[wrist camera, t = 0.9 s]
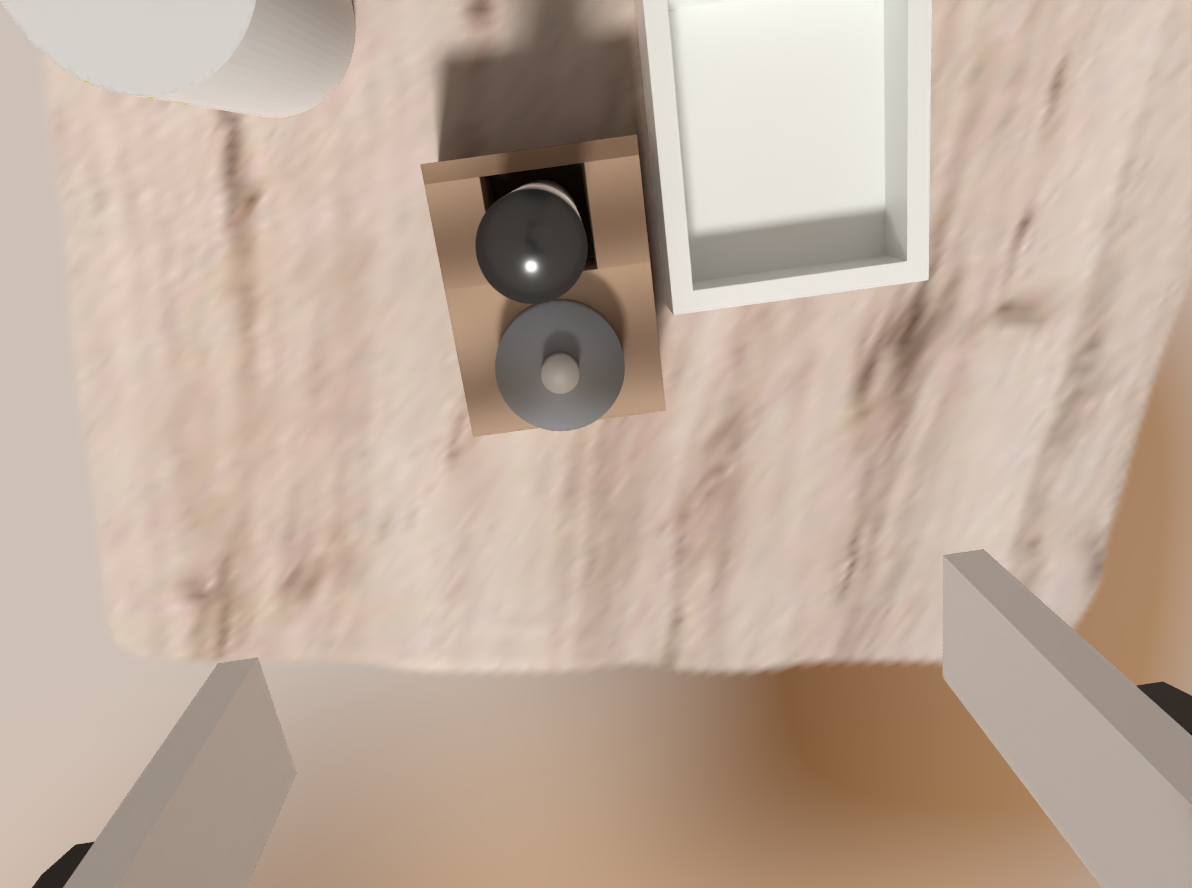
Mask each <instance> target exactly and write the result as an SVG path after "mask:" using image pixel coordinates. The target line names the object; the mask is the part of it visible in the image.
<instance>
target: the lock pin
mask: <svg viewBox="0 0 1192 888" xmlns="http://www.w3.org/2000/svg"><path fill="white" fill-rule="evenodd" d="M475 249H476V257H477V261H478V264H479V267H480V269H481V271H482V273H483V275H484V277H485V278H486V280H487V281H488V283H489V284H490V285H491V286H492V287H493V288H494V289H495V290H496V291H498V292H499V293H500V294H502V295H503V296H505V297H507V298H509V299H511V300H514V301H517V302H520V303H525V304H540V303H545V302H549V301H552V300H555V299H556V298H558V297H560V296H562V295H563V294H565V293H566V292H567V291H569V290H570V289H571V288H572V287H573V286H574V284H575V283H576V282H577V280H578V279H579V277H580V276H581V274H582V272H583V270H584V267H585V264H586V259H587V251H588V245H587V237H586V232H585V229H584V226H583V223H582V221H581V218H580V216H579V213H578V210H577V208H576V205H575V203H574V201H573V198H572V197H571V195H570V194H569V193H568V192H567V190H565V189H564V188H563V187H562V186H560V185H559V184H557V183H555V182H552V181H548V180H535V181H531V182H528V183H526V184H524V185H523V186H521V187H519V188H517V189H515V190H514V191H512V192H510V193H508V194H506V195H505V196H503V197H501V198H500V199H498V200H497V201H496V202H495V203H494V204H492V205H491V206H490V208H489V209H488V210H487V211H486V212H485V214H484V216H483V217H482V219H481V222H480V224H479V226H478V230H477V234H476V241H475Z"/></svg>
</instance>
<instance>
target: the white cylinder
mask: <svg viewBox="0 0 1192 888" xmlns="http://www.w3.org/2000/svg"><path fill="white" fill-rule="evenodd" d="M1 2H2V3H3V5H4V7H5V9H6V10H7V12H8V13H9V15H10V16H11V18H12V19H13V21H14V22H15V23H16V24H17V26H18V27H19V29H20V30H21V31H22V32H23V33H24V35H25V36H26V37H27V38H28V39H29V40H30V41H31V42H32V43H33V44H34V45H35V46H36V47H37V48H38V49H39V50H40V51H41V52H42V53H43V54H44V55H45V56H47V57H48V58H49V59H50V60H51V61H53V62H54V63H55V64H57V65H58V66H59V67H61V68H62V69H64V70H65V71H67V72H69V73H70V74H72V75H73V76H75V77H77V78H79V79H81V80H83V81H85V82H87V83H89V84H92V85H94V86H96V87H99V88H102V89H105V90H108V91H112V92H116V93H121V94H126V95H132V96H138V97H144V98H151V99H157V100H163V101H169V102H175V103H181V104H188V105H194V106H200V107H206V108H212V109H218V110H225V111H231V112H237V113H243V114H249V115H255V116H262V117H287V116H292V115H296V114H299V113H302V112H305V111H307V110H309V109H311V108H313V107H315V106H316V105H318V104H319V103H321V102H322V101H323V100H325V99H326V98H327V97H328V96H329V95H330V94H331V93H332V92H333V91H334V90H335V88H336V87H337V86H338V84H339V83H340V81H341V80H342V78H343V77H344V75H345V73H346V71H347V68H348V66H349V63H350V60H351V57H352V53H353V48H354V41H355V17H354V10H353V5H352V0H1Z"/></svg>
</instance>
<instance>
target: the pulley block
mask: <svg viewBox="0 0 1192 888" xmlns="http://www.w3.org/2000/svg"><path fill="white" fill-rule="evenodd" d="M577 163H581V166H582V174H583V182H584V189H585V197H586V205H587V213H588V220H589V228H590V236H591V244H592V251H593V257H587V259H586V264H585V267H584V270H583V272H582V274H581V276H580V277H579V279H578V280H577V282H576V283H575V284H574V286H573V287H572V288H571V289H570V290H569V291H567V292H566V293H565V294H563V295H562V296H560V297H558V298H556V299H555V300H552V301H549V302H545V303H540V304H525V303H520V302H517V301H514V300H511V299H509V298H507V297H505V296H503V295H502V294H500V293H499V292H498V291H496V290H495V289H494V288H493V287H492V286H491V285H490V284H489V283H488V281H487V280H486V278H485V277H484V275H483V273H482V271H481V269H480V267H479V264H478V261H477V257H476V249H475V241H476V234H477V230H478V226H479V224H480V222H481V219H482V217H483V216H484V214H485V212H486V211H487V210H488V209H489V208H490V206H491V205H492V204H494V200H493V194H492V188H491V182H490V175H497V174H505V173H512V172H519V171H526V170H534V169H541V168H548V167H555V166H562V165H570V164H577ZM421 170H422V175H423V180H424V185H425V190H426V195H427V200H428V206H429V211H430V216H431V221H432V226H433V231H434V237H435V242H436V247H437V252H438V257H439V262H440V268H441V273H442V278H443V283H444V288H445V293H446V299H447V304H448V309H449V314H450V319H451V324H452V330H453V335H454V340H455V345H456V350H457V355H458V361H459V366H460V371H461V376H462V381H463V386H464V391H465V397H466V402H467V407H468V412H469V417H470V422H471V428H472V433H473V437H476V436H483V435H490V434H498V433H505V432H512V431H520V430H527V429H534V428H542V429H546V430H552V431H569V430H574V429H579V428H582V427H585V426H587V425H589V424H591V423H593V422H594V421H596V420H600V419H607V418H614V417H621V416H629V415H636V414H643V413H650V412H658V411H665V410H666V407H665V398H664V388H663V379H662V369H661V360H660V350H659V341H658V331H657V322H656V312H655V303H654V293H653V284H652V274H651V265H650V255H649V246H648V236H647V226H646V217H645V207H644V198H643V188H642V179H641V169H640V160H639V150H638V141H637V134H636V135H629V136H622V137H614V138H607V139H600V140H593V141H585V142H578V143H571V144H564V145H557V146H549V147H542V148H535V149H528V150H521V151H513V152H506V153H499V154H492V155H484V156H477V157H470V158H463V159H456V160H448V161H441V162H434V163H427V164H421Z"/></svg>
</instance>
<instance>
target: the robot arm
mask: <svg viewBox="0 0 1192 888" xmlns="http://www.w3.org/2000/svg"><path fill="white" fill-rule="evenodd" d="M943 678H944V679H945V681H946V682H947V683H948V685H949V686H950V687H951V689H952V690H953V691H954V693H955V694H956V695H957V697H958V698H959V699H960V700H961V702H962V703H963V705H964V706H965V707H966V709H967V710H968V711H969V713H970V714H971V715H972V716H973V718H974V719H975V720H976V722H977V723H978V724H979V726H980V727H981V728H982V730H983V731H984V732H985V734H986V735H987V736H988V738H989V739H990V740H991V742H992V743H993V744H994V746H995V747H996V748H997V750H998V751H999V752H1000V753H1001V755H1002V756H1003V757H1004V759H1005V760H1006V762H1007V763H1008V764H1009V766H1010V767H1011V768H1012V769H1013V771H1014V772H1015V773H1016V775H1017V776H1018V777H1019V779H1020V780H1021V781H1022V783H1023V784H1024V785H1025V787H1026V788H1027V789H1028V790H1029V792H1030V793H1031V795H1032V796H1033V797H1034V799H1035V800H1036V801H1037V803H1038V804H1039V805H1040V806H1041V808H1042V809H1043V811H1044V812H1045V813H1046V815H1047V816H1048V817H1049V818H1050V820H1051V821H1052V822H1053V824H1054V825H1055V826H1056V828H1057V829H1058V830H1059V832H1060V833H1061V834H1062V836H1063V837H1064V838H1065V840H1066V841H1067V842H1068V844H1069V845H1070V846H1071V847H1072V849H1073V850H1074V852H1075V853H1076V854H1077V856H1078V857H1079V858H1080V860H1081V861H1082V862H1083V863H1084V865H1085V866H1086V867H1087V869H1088V870H1089V871H1090V873H1091V874H1092V875H1093V877H1094V878H1095V879H1096V881H1097V882H1098V883H1099V885H1100V886H1101V887H1102V888H1192V696H1191V695H1189V694H1187V693H1185V692H1183V691H1181V690H1179V689H1177V688H1175V687H1173V686H1171V685H1169V684H1167V683H1165V682H1157V683H1151V684H1144V685H1137V686H1136V685H1134V684H1133V683H1132V682H1131V681H1130V680H1129V679H1128V678H1127V677H1125V676H1124V675H1123V674H1122V673H1121V672H1120V671H1119V670H1118V669H1117V668H1115V667H1114V666H1113V665H1112V664H1111V663H1110V662H1109V661H1107V660H1106V659H1105V658H1104V657H1103V656H1102V655H1101V654H1100V653H1099V652H1098V651H1096V650H1095V649H1094V648H1093V647H1092V646H1091V645H1090V644H1089V643H1088V642H1086V641H1085V640H1084V639H1083V638H1082V637H1081V636H1080V635H1079V634H1077V633H1076V632H1075V631H1074V630H1073V629H1072V628H1071V627H1070V626H1069V625H1067V624H1066V623H1065V622H1064V621H1063V620H1062V619H1061V618H1060V617H1058V616H1057V615H1056V614H1055V613H1054V612H1053V611H1052V610H1051V609H1050V608H1048V607H1047V606H1046V605H1045V604H1044V603H1043V602H1042V601H1041V600H1040V599H1038V598H1037V597H1036V596H1035V595H1034V594H1033V593H1032V592H1031V591H1029V590H1028V589H1027V588H1026V587H1025V586H1024V585H1023V584H1022V583H1021V582H1019V581H1018V580H1017V579H1016V578H1015V577H1014V576H1013V575H1012V574H1010V573H1009V572H1008V571H1007V570H1006V569H1005V568H1004V567H1003V566H1002V565H1000V564H999V563H998V562H997V561H996V560H995V559H994V558H993V557H991V556H990V555H989V554H988V553H987V552H986V551H985V550H984V549H982V550H975V551H969V552H962V553H955V554H949V555H943ZM295 775H296V770H295V767H294V764H293V761H292V758H291V755H290V752H289V749H288V746H287V743H286V740H285V737H284V734H283V731H282V728H281V725H280V722H279V719H278V716H277V713H276V710H275V707H274V704H273V701H272V698H271V695H270V692H269V689H268V686H267V683H266V681H265V677H264V675H263V671H262V668H261V665H260V662H259V659H258V657H257V658H251V659H244V660H237V661H230V662H224V663H218V664H217V666H216V667H215V669H214V670H213V671H212V673H211V674H210V676H209V677H208V679H207V680H206V682H205V683H204V685H203V686H202V687H201V689H200V690H199V692H198V693H197V695H196V696H195V697H194V699H193V700H192V702H191V703H190V705H189V706H188V708H187V709H186V711H185V712H184V713H183V715H182V716H181V718H180V719H179V721H178V722H177V724H176V725H175V727H174V728H173V729H172V731H171V732H170V734H169V735H168V737H167V738H166V740H165V741H164V742H163V744H162V745H161V747H160V748H159V750H158V751H157V752H156V754H155V755H154V757H153V758H152V760H151V761H150V763H149V764H148V765H147V767H146V768H145V770H144V771H143V773H142V774H141V776H140V777H139V779H138V780H137V781H136V783H135V784H134V786H133V787H132V789H131V790H130V792H129V793H128V794H127V796H126V797H125V799H124V800H123V802H122V803H121V805H120V806H119V808H118V809H117V810H116V812H115V813H114V815H113V816H112V818H111V819H110V821H109V822H108V823H107V825H106V827H105V828H104V829H103V831H102V832H101V834H100V835H99V836H98V838H97V839H96V841H95V842H90V843H84V844H77V845H75V846H74V847H72V848H71V849H70V850H69V851H68V852H67V853H66V854H65V855H63V856H62V857H61V858H60V859H59V860H58V861H57V862H56V863H54V865H52V866H51V867H50V868H49V869H48V870H47V871H46V872H44V873H43V874H42V875H41V876H40V878H39V879H38V880H37V882H36V883H35V885H34V886H33V887H32V888H247V886H248V884H249V881H250V879H251V876H252V874H253V872H254V870H255V868H256V865H257V863H258V861H259V858H260V856H261V854H262V851H263V849H264V847H265V845H266V842H267V840H268V838H269V835H270V833H271V831H272V828H273V826H274V824H275V822H276V819H277V817H278V815H279V812H280V810H281V808H282V805H283V803H284V801H285V799H286V796H287V794H288V792H289V789H290V787H291V785H292V782H293V780H294V778H295Z"/></svg>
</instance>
